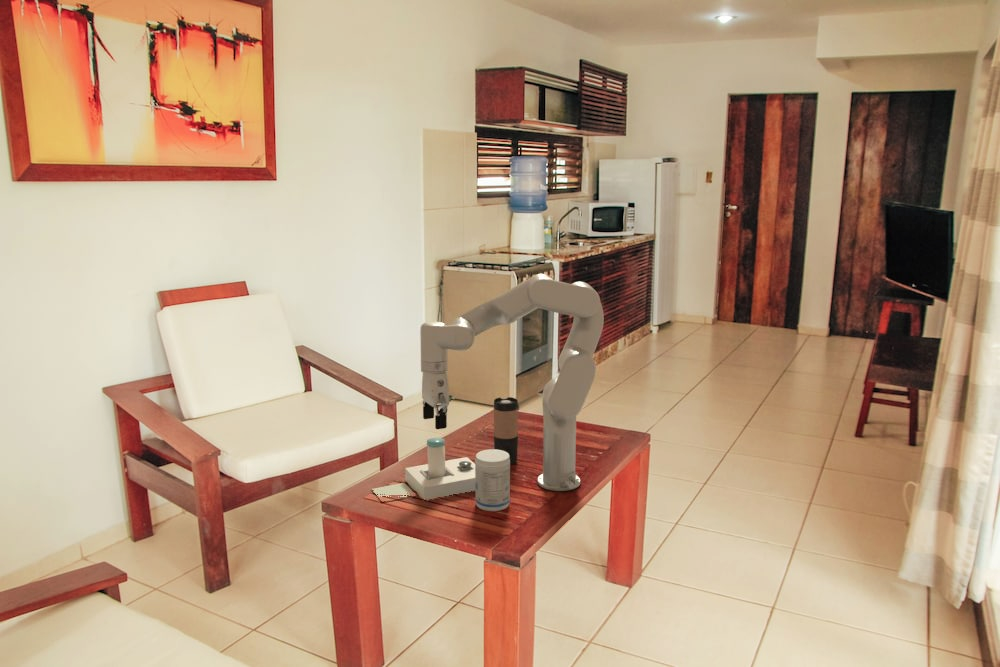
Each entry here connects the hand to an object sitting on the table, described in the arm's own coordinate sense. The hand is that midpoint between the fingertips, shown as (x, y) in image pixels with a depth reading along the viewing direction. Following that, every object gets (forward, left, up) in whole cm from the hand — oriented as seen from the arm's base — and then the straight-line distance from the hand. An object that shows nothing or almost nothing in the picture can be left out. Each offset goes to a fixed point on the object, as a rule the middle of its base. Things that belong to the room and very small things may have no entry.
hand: (434, 423), depth 218 cm
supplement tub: (-19, -9, -20) cm, 29 cm away
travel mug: (+9, -27, -20) cm, 35 cm away
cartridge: (0, 0, -19) cm, 19 cm away
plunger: (0, -9, -19) cm, 21 cm away
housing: (0, -3, -19) cm, 20 cm away
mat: (+1, +13, -19) cm, 23 cm away
